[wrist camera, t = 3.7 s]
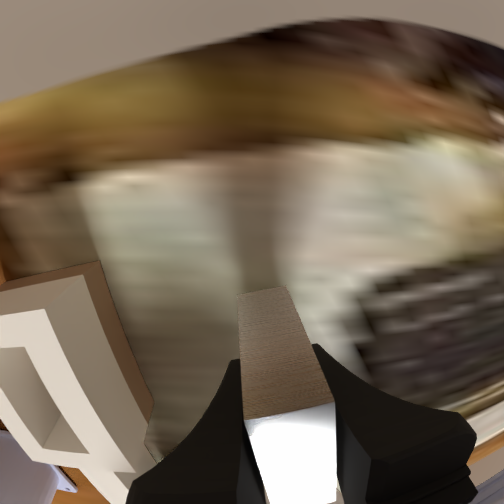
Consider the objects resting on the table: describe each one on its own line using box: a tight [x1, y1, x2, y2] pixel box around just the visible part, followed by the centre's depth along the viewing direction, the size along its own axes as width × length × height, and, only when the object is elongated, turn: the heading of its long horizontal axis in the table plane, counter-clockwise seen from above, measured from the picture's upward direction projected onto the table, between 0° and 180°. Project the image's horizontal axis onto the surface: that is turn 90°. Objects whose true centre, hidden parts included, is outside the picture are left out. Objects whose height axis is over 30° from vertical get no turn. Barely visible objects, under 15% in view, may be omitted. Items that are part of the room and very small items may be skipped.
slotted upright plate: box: [0, 261, 157, 504], centre depth 14 cm, size 7×18×6 cm, turn 10°
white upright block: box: [237, 285, 336, 504], centre depth 10 cm, size 2×5×7 cm, turn 10°
